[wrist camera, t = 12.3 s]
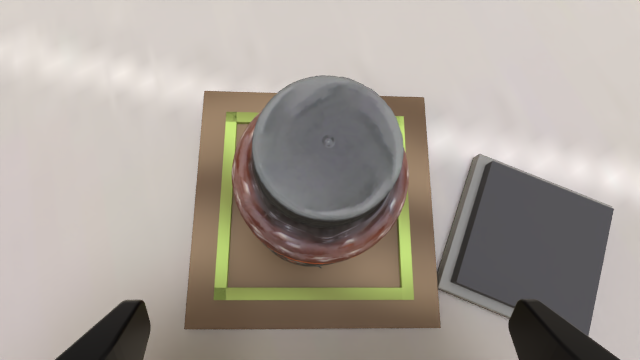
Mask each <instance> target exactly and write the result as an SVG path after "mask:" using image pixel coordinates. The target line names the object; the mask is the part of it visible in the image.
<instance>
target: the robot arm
mask: <svg viewBox="0 0 640 360" xmlns="http://www.w3.org/2000/svg"><path fill="white" fill-rule="evenodd" d="M508 325H509V332H510V335H511V338H512V341H513V344H514V347H515V350H516V353H517V355H518V358H519V360H620V359H619V358H617V357H616V356H614V355H613V354H612V353H610V352H609V351H608V350H606V349H605V348H604V347H602V346H601V345H599V344H598V343H597V342H595V341H594V340H593V339H591V338H590V337H588V336H587V335H586V334H584V333H583V332H582V331H580V330H579V329H577V328H576V327H575V326H573V325H572V324H571V323H569V322H568V321H566V320H565V319H564V318H562V317H561V316H560V315H558V314H557V313H556V312H554V311H553V310H551V309H550V308H549V307H547V306H546V305H545V304H543V303H542V302H540V301H539V300H537V299H520V300H518V301H517V303H516V305H515V308H514V310H513V312H512V315H511V317H510V319H509V324H508ZM149 334H150V320H149V317H148V313H147V309H146V306H145V303H144V302H143V301H142V300H125V301H123V302H121V303H120V304H119V305H118V306H117V307H115V308H114V309H113V310H112V311H111V312H110V313H108V314H107V315H106V316H105V317H104V318H103V319H102V320H100V321H99V322H98V323H97V324H96V325H95V326H93V327H92V328H91V329H90V330H89V331H88V332H86V333H85V334H84V335H83V336H82V337H81V338H79V339H78V340H77V341H76V342H75V343H74V344H73V345H71V346H70V347H69V348H68V349H67V350H66V351H64V352H63V353H62V354H61V355H60V356H59V357H57V358H56V359H55V360H143V358H144V354H145V350H146V346H147V342H148V338H149Z"/></svg>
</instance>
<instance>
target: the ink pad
mask: <svg viewBox="0 0 640 360" xmlns="http://www.w3.org/2000/svg"><path fill="white" fill-rule="evenodd" d="M613 210H614V209H613V208H612V206H610V205H607V204H605V203H602V202H599V201H597V200H594V199H592V198H589V197H587V196H584V195H582V194H579V193H577V192H574V191H572V190H569V189H567V188H564V187H562V186H559V185H557V184H554V183H552V182H549V181H547V180H544V179H542V178H539V177H537V176H534V175H532V174H529V173H527V172H524V171H522V170H519V169H517V168H514V167H512V166H509V165H507V164H504V163H502V162H499V161H497V160H494V159H492V158H489V157H487V156H484V155H482V154H479V155H477V156H476V157H474V158H473V161H472V164H471V168H470V171H469V174H468V177H467V180H466V184H465V187H464V190H463V193H462V196H461V200H460V203H459V206H458V209H457V212H456V216H455V219H454V222H453V225H452V228H451V231H450V235H449V238H448V241H447V244H446V247H445V251H444V254H443V257H442V260H441V263H440V267H439V270H438V273H437V285H438V286H437V287H438V289H440V290H442V291H444V292H447V293H449V294H452V295H454V296H456V297H459V298H461V299H464V300H466V301H468V302H471V303H473V304H476V305H478V306H480V307H483V308H485V309H488V310H490V311H492V312H495V313H497V314H500V315H502V316H504V317H507V318H509V319H510V317H511V315H512V312H513V310H514V308H515V305H516V303H517V301H518V300H520V299H537V300H539V301H540V302H542V303H543V304H545V305H546V306H547V307H549V308H550V309H551V310H553V311H554V312H556V313H557V314H558V315H560V316H561V317H562V318H564V319H565V320H566V321H568V322H569V323H571V324H572V325H573V326H575V327H576V328H577V329H579V330H580V331H582V332H583V333H584V334H586V335H587V336H588V335H589V330H590V325H591V320H592V315H593V310H594V305H595V300H596V295H597V290H598V285H599V280H600V275H601V270H602V265H603V260H604V255H605V250H606V245H607V240H608V235H609V230H610V225H611V220H612V215H613Z"/></svg>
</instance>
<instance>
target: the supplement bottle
mask: <svg viewBox="0 0 640 360" xmlns="http://www.w3.org/2000/svg"><path fill="white" fill-rule="evenodd" d="M408 184H409V169H408V162H407V158H406V152H405V149H404V147H403V136H402V133H401V130H400V127H399V124H398V121H397V118H396V117H395V115H394V113H393V111H392V110H391V108H390V107H389V106H388V105H387V103H386V102H385V101H384V100H383V99H382V98H381V97H380V96H379V95H378V94H377V93H376V92H375V91H373V90H372V89H370V88H368V87H366V86H364V85H363V84H361V83H359V82H356V81H354V80H351V79H349V78H345V77H336V76H315V77H309V78H305V79H301V80H299V81H296V82H294V83H292V84H290V85H288V86H286V87H285V88H284V89H282V90H280V91H279V92H278V93H277V94H276V95H275V96H274V97H273V98H271V100H270V101H269V102H268V103H267V104H266V106H265V107H264V108H263V109H262V110H261V112H260V113H259V114H257V115H256V117H254V119H253V120H252V121H251V122H250V123H249V125H248V126H247V128H246V129H245V131H244V132H243V135H242V136H241V138H240V140H239V142H238V145H237V148H236V151H235V155H234V159H233V164H232V186H233V191H234V196H235V201H236V204H237V206H238V209H239V211H240V214H241V216H242V218H243V219H244V221H245V222H246V224H247V225H248V227H249V228H250V230H251V231H252V233H253V234H254V235H255V236H256V237H257V238H258V239H259V240H260V241H261V242H262V243H263V244H264V245H265V246H266V247H267V248H269V249H270V250H271V251H272V252H273V253H274V254H275V255H277V256H278V257H280V258H281V259H283V260H285V261H288V262H290V263H293V264H296V265H300V266H306V267H319V268H322V267H320V266H323V265H329V264H333V263H336V262H342V261H345V260H348V259H350V258H353V257H355V256H357V255H359V254H361V253H363V252H365V251H367V250H368V249H370V248H371V247H373V246H374V245H375V244H376V243H378V242H379V241H380V240H381V239H382V238H383V237H384V236H385V235H386V234H387V233H388V232H389V231H390V230H391V228H392V227H393V225H394V223H395V222H396V220H397V219H398V217H399V215H400V213H401V211H402V208H403V206H404V203H405V200H406V196H407V191H408Z"/></svg>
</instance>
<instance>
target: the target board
mask: <svg viewBox="0 0 640 360" xmlns="http://www.w3.org/2000/svg"><path fill="white" fill-rule="evenodd" d="M276 94H277V93H256V92H221V91H204V103H203V115H202V126H201V138H200V150H199V162H198V173H197V185H196V197H195V209H194V221H193V232H192V244H191V256H190V268H189V280H188V291H187V303H186V315H185V327H184V329H322V328H441V327H440V313H439V299H438V287H437V286H438V285H437V271H436V257H435V243H434V229H433V215H432V201H431V187H430V173H429V159H428V145H427V131H426V117H425V103H424V97H393V96H380V97H381V98H382V99H383V100H384V101H385V102H386V103H387V105H388V106H389V107H390V108H391V110H392V111H393V113H394V115H395V117H396V118H397V121H398V124H399V127H400V130H401V133H402V136H403V147H404V149H405V152H406V158H407V162H408V169H409V184H408V191H407V196H406V200H405V203H404V206H403V208H402V211H401V213H400V215H399V217H398V219H397V220H396V222H395V223H394V225H393V227H392V228H391V230H390V231H389V232H388V233H387V234H386V235H385V236H384V237H383V238H382V239H381V240H380V241H379V242H378V243H376V244H375V245H374V246H373V247H371V248H370V249H368V250H367V251H365V252H363V253H361V254H359V255H357V256H355V257H353V258H350V259H348V260H345V261H342V262H336V263H333V264H329V265H323V266H320V267H322V268H319V267H306V266H300V265H296V264H293V263H290V262H288V261H285V260H283V259H281V258H280V257H278V256H277V255H275V254H274V253H273V252H272V251H271V250H270V249H269V248H267V247H266V246H265V245H264V244H263V243H262V242H261V241H260V240H259V239H258V238H257V237H256V236H255V235H254V234H253V233H252V231H251V230H250V228H249V227H248V225H247V224H246V222H245V221H244V219H243V218H242V216H241V214H240V211H239V209H238V206H237V204H236V201H235V196H234V191H233V186H232V164H233V159H234V155H235V151H236V148H237V145H238V142H239V140H240V138H241V136H242V135H243V132H244V131H245V129H246V128H247V126H248V125H249V123H250V122H251V121H252V120H253V119H254V117H256V115H257V114H259V113H260V112H261V110H262V109H263V108H264V107H265V106H266V104H267V103H268V102H269V101H270V100H271V98H273V97H274V96H275V95H276Z"/></svg>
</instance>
